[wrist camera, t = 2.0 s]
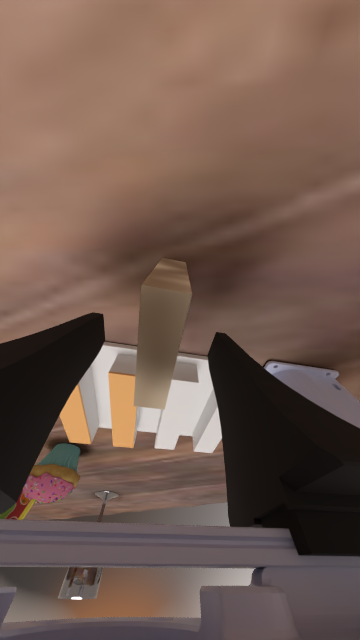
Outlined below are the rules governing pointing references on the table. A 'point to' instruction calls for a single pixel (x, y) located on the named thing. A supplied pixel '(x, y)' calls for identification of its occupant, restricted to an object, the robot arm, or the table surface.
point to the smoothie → (16, 508)
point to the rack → (126, 419)
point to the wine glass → (85, 569)
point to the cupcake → (52, 476)
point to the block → (160, 331)
